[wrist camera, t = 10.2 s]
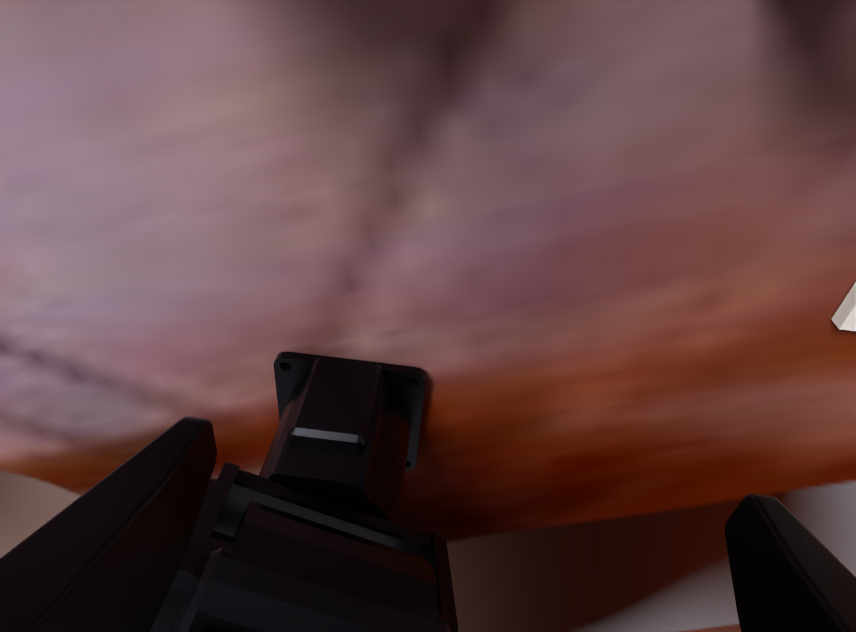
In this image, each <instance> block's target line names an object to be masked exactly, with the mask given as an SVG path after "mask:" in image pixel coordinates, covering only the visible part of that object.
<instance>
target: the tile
mask: <svg viewBox="0 0 856 632" xmlns="http://www.w3.org/2000/svg"><path fill="white" fill-rule="evenodd" d="M831 320H832V321H833V322H834V323H835V325H836V326H837V327H838V329H841V330H849V331H856V282H855V284H854V285H853V287H852V288H851V290H850V291H849V293H848V294H847V296H846V297H845V299H844V300H843V302H842V304H841V305H840V307H839V308H838V310H837V311H836V313H835V314H834V316H833V317H832V319H831Z"/></svg>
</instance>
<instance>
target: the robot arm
mask: <svg viewBox="0 0 856 632" xmlns="http://www.w3.org/2000/svg"><path fill="white" fill-rule="evenodd" d="M284 362H286V363H289V364H290V365H287V364H285V363H284ZM274 372H275V381H276V390H277V399H278V409H279V418H280V423H279V425H278V428H277V430H276V433H275V435H274V438H273V441H272V443H271V446H270V448H269V451H268V453H267V456H266V459H265V461H264V464H263V466H262V469H261V472H260V474H259V476H258V475H255V474H252V473H250V472H247V471H244V470H241V469H239V468H240V466H237V465H234V464H231V463H228V462H225V464H224V466H223V468H222V470H221V472H220V475H219V477H218V479H214V478H211V475H212V472H213V469H214V466H215V462H216V457H217V449H216V443H215V438H214V432H213V427H212V423H211V422H210V420H209V419H205V418H198V417H191V416H189V417H184V418H182V419H180V420H179V421H178V422H176V423H175V424H174V425H173V426H171V427H170V428H169V429H167V430H166V431H165V432H163V433H162V434H161V435H160V436H158V437H157V438H156V439H154V440H153V441H152V442H151V443H149V444H148V445H147V446H145V447H144V448H143V449H141V450H140V451H139V452H138V453H136V454H135V455H134V456H132V457H131V458H130V459H128V460H127V461H126V462H125V463H123V464H122V465H121V466H119V467H118V468H117V469H116V470H114V471H113V472H112V473H110V474H109V475H108V476H106V477H105V478H104V479H103V480H101V481H100V482H99V483H97V484H96V485H95V486H94V487H92V488H91V489H90V490H88V491H87V492H86V493H84V494H83V495H82V496H81V497H79V498H78V499H77V500H75V501H74V502H73V503H72V504H70V505H69V506H68V507H66V508H65V509H64V510H63V511H61V512H60V513H59V514H57V515H56V516H55V517H53V518H52V519H51V520H49V521H48V522H47V523H46V524H44V525H43V526H42V527H40V528H39V529H38V530H36V531H35V532H34V533H33V534H31V535H30V536H29V537H27V538H26V539H25V540H24V541H22V542H21V543H20V544H18V545H17V546H16V547H14V548H13V549H12V550H11V551H9V552H8V553H7V554H5V555H4V556H3V557H1V558H0V632H458V624H457V616H456V610H455V602H454V595H453V587H452V581H451V573H450V566H449V559H448V551H447V544H446V538H445V536H442V535H439V534H436V533H433V532H431V533H430V534H428V533H426V532H423V531H420V530H417V529H414V528H411V527H408V526H405V525H402V524H399V523H398V518H399V511H400V504H401V497H402V490H403V482H404V475H405V470H412V469H414V468H415V466H416V461H417V452H418V443H419V435H420V426H421V417H422V408H423V400H424V391H425V382H426V374H425V372H424V371H423V370H421V369H420V368H416V367H409V366H401V365H393V364H384V363H376V362H368V361H360V360H351V359H343V358H335V357H327V356H318V355H310V354H302V353H294V352H281V353H279V354H278V355H277V357H276V359H275V362H274ZM410 378H416V379H418V380H412V379H410ZM210 478H211V480H210ZM725 538H726V544H727V551H728V557H729V563H730V569H731V575H732V582H733V588H734V594H735V601H736V607H737V612H738V618H739V623H740V628H741V632H856V577H855V576H854V575H853V574H852V573H851V572H850V571H849V570H848V569H847V568H846V567H845V566H844V565H843V564H842V563H841V562H840V561H839V560H838V559H837V558H836V557H835V556H834V555H833V554H832V553H831V552H830V551H829V550H828V549H827V548H826V547H825V546H824V545H823V544H822V543H821V542H820V541H819V540H818V539H817V538H816V537H815V536H814V535H813V534H812V533H811V532H810V531H809V530H808V529H807V528H806V527H805V526H804V525H803V524H802V523H801V522H800V521H799V520H798V519H797V518H796V517H795V516H794V515H793V514H792V513H791V512H790V511H789V510H788V509H787V508H786V507H785V506H784V505H783V504H782V503H781V502H780V501H779V500H777V499H776V498H774V497H772V496H767V495H759V494H748V495H746V496H745V497H744V498H743V499H742V501H741V502H740V503H739V505H738V506H737V507H736V509H735V510H734V511H733V513H732V514H731V515H730V517H729V518H728V520H727V522H726V525H725Z"/></svg>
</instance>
